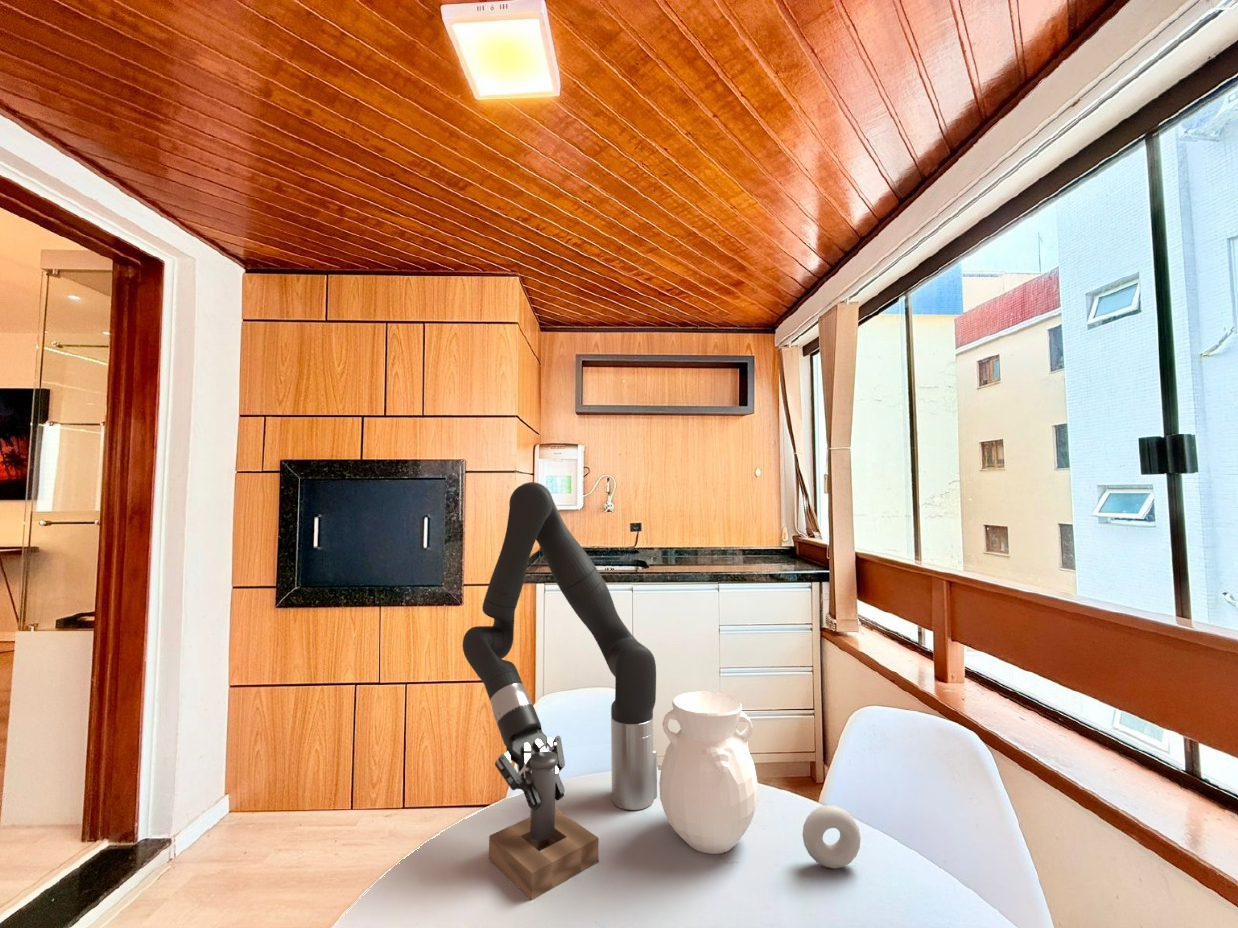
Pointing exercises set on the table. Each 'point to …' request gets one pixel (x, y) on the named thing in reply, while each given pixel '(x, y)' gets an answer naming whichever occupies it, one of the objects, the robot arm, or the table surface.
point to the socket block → (543, 854)
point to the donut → (838, 851)
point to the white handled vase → (708, 772)
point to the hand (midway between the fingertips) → (549, 802)
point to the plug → (543, 794)
